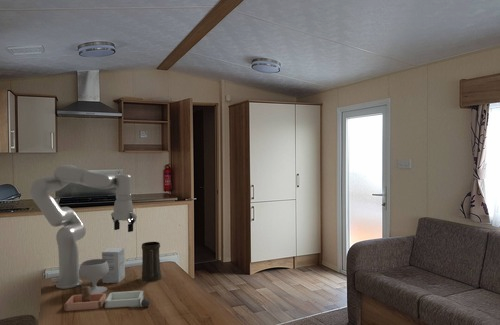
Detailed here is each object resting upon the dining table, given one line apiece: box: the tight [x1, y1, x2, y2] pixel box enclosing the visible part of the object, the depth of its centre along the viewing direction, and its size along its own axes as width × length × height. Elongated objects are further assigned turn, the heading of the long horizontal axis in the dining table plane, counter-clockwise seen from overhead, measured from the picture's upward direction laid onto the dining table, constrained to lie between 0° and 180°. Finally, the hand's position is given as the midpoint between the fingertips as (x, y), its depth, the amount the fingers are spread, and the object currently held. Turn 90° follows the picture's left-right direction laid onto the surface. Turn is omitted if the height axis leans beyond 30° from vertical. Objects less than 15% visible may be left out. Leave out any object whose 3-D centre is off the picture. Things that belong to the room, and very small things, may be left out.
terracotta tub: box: [64, 292, 107, 312], centre depth 176 cm, size 15×11×4 cm
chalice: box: [79, 258, 109, 294], centre depth 194 cm, size 14×14×15 cm
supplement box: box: [101, 247, 126, 284], centre depth 212 cm, size 10×9×17 cm
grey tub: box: [104, 290, 145, 309], centre depth 178 cm, size 15×11×4 cm
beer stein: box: [141, 241, 162, 283], centre depth 211 cm, size 15×11×20 cm
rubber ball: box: [141, 298, 151, 308], centre depth 174 cm, size 4×4×4 cm
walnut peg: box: [81, 285, 91, 302], centre depth 176 cm, size 4×4×8 cm
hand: (123, 230), depth 202 cm, fingers open, 9 cm apart
